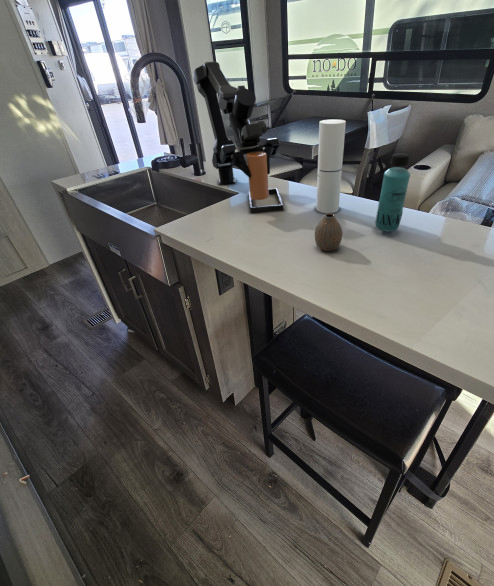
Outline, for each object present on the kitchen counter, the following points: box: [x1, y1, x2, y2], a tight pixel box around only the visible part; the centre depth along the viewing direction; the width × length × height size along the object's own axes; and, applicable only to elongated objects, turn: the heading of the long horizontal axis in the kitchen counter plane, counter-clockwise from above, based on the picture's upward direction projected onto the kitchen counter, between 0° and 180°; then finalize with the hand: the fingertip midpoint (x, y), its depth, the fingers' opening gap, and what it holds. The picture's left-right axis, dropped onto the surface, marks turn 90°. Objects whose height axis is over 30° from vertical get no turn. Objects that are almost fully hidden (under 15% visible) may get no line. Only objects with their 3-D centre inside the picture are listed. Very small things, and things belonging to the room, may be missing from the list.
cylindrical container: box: [315, 118, 346, 214], centre depth 93 cm, size 7×7×25 cm
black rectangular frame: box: [247, 187, 284, 214], centre depth 106 cm, size 17×11×2 cm, turn 6°
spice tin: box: [246, 152, 270, 201], centre depth 97 cm, size 6×6×13 cm
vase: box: [314, 213, 343, 252], centre depth 77 cm, size 7×7×9 cm
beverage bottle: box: [374, 153, 411, 232], centre depth 80 cm, size 6×7×20 cm
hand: (259, 175), depth 96 cm, fingers closed on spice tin, 6 cm apart
